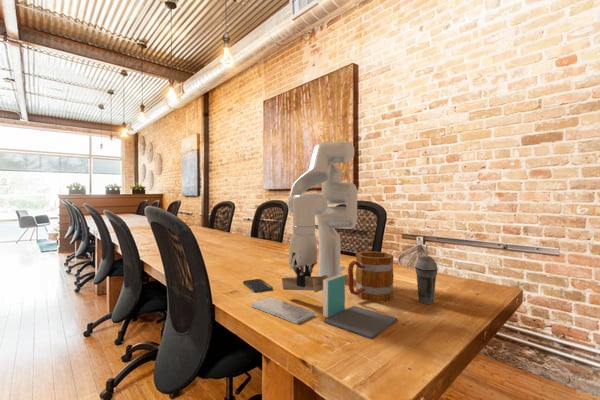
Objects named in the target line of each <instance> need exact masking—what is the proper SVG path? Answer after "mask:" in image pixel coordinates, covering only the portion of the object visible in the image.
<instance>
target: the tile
mask: <svg viewBox="0 0 600 400" xmlns="http://www.w3.org/2000/svg"><path fill="white" fill-rule="evenodd" d="M342 274H343V273H341V274H339V275H336V276H333V277H330V278H327V279H324V280H323V290H322V317H324V316H325V317H324V318H327V317H328V318H330V317H332V316H334V315H336V314H338V313H340V312H342V311H344V310H346V307H345V306H346V305H345V304H346V300H345V299H346V297H345V296H346V282H345V281H346V276H345V274H343V275H342Z"/></svg>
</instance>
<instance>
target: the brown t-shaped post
mask: <svg viewBox="0 0 600 400" xmlns="http://www.w3.org/2000/svg"><path fill="white" fill-rule="evenodd" d="M324 279H327V275H324V276H311V277H305V287H300V286H297V276H285V277H282V278H281V281H282V282H281V284H282V290H284V291H313V292H314V293H319V292H321V291H323V280H324Z"/></svg>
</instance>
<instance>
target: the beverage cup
mask: <svg viewBox="0 0 600 400" xmlns="http://www.w3.org/2000/svg"><path fill="white" fill-rule="evenodd" d="M428 246H429V245H428V243H426V244H425V256H421V257H419V258H418V259H417V261H416V262H415V267H414V268H415V273H416V282H417V295H418V296H417V297H418V301H419V303H421V304H425V305H433V304H434V298H435V291H436V279H437V275H438V271H439V268H438V264H437V262H436V261H435V259H433V258H432V257H431V256H428Z"/></svg>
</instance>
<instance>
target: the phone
mask: <svg viewBox="0 0 600 400" xmlns="http://www.w3.org/2000/svg"><path fill="white" fill-rule="evenodd" d="M242 283H243V285H245V286H246V287H247V288H248V289H249V290H250V291H251V292H253V293H256V294H257V293H263V292H269V291H273V290H274V289H273V286H271V285H270V284H269V283H267V282H266V281H264V280H262V279H261V278H255V279H249V280H243V282H242Z"/></svg>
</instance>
